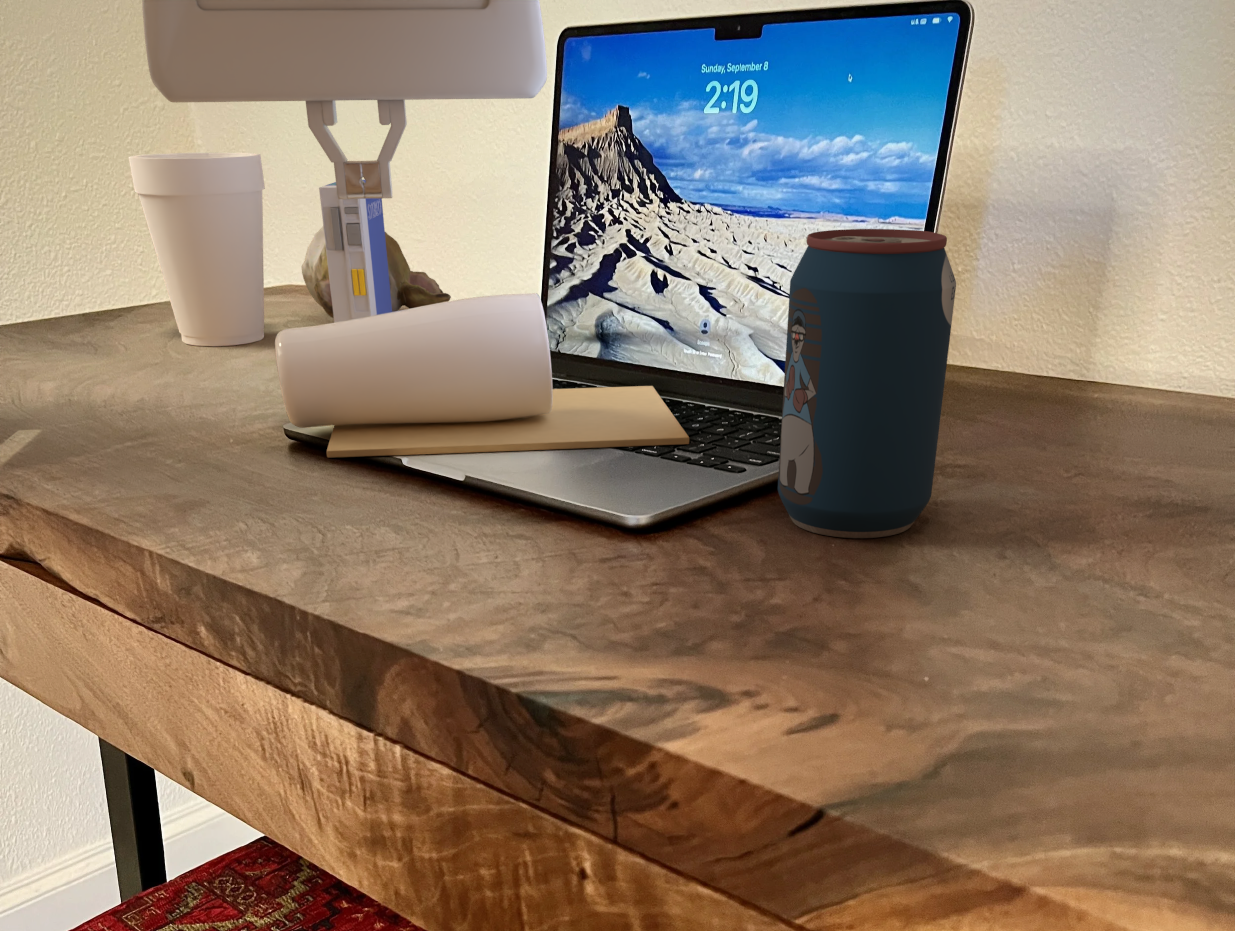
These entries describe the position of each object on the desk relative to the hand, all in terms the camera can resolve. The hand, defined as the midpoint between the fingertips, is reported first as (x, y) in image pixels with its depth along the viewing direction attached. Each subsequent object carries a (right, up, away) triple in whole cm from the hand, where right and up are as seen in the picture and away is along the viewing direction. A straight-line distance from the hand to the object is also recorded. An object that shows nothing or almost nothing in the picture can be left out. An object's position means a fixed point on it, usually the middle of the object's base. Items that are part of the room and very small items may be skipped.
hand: (365, 198), depth 69 cm
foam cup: (-18, +4, +32) cm, 37 cm away
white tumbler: (-5, -9, +3) cm, 11 cm away
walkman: (-5, 0, +24) cm, 24 cm away
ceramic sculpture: (-8, +9, +40) cm, 42 cm away
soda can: (+25, -20, -10) cm, 33 cm away
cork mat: (+7, -10, +7) cm, 14 cm away
